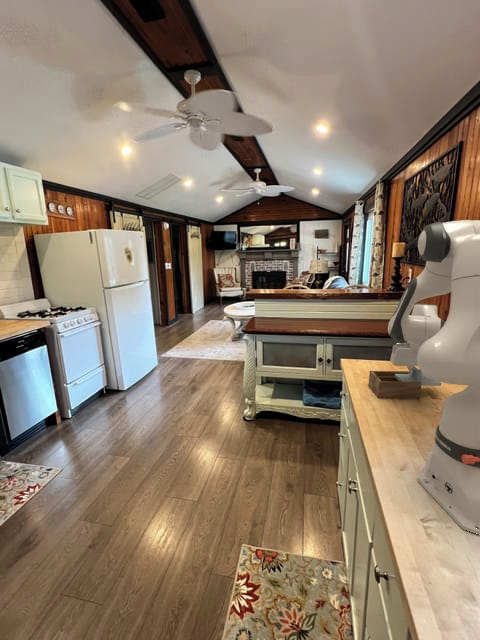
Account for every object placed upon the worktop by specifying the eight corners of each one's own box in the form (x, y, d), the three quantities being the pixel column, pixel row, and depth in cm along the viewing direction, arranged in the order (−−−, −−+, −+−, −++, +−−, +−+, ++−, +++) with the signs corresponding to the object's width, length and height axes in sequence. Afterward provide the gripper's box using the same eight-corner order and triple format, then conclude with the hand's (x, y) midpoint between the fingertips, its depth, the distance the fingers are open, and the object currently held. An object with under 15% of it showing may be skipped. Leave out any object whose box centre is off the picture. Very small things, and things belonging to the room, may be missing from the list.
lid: (441, 385, 121) (443, 373, 120) (403, 385, 122) (405, 373, 120) (429, 376, 129) (431, 365, 128) (394, 376, 130) (395, 365, 128)
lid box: (419, 399, 121) (421, 382, 120) (378, 398, 122) (379, 382, 120) (406, 386, 132) (408, 371, 130) (368, 385, 133) (369, 370, 131)
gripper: (396, 345, 119) (392, 378, 122) (451, 345, 118) (445, 378, 121) (389, 340, 125) (386, 371, 128) (441, 340, 124) (436, 372, 127)
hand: (415, 375), depth 125 cm, fingers closed on lid
